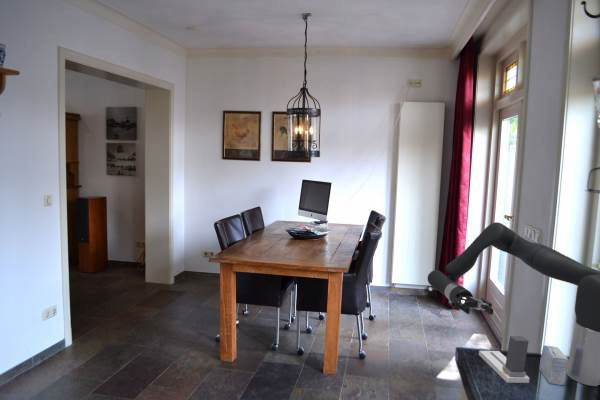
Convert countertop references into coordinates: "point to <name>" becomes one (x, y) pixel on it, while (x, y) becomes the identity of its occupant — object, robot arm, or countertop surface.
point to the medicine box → (553, 365)
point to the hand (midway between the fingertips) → (480, 311)
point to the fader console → (498, 362)
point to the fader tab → (516, 356)
